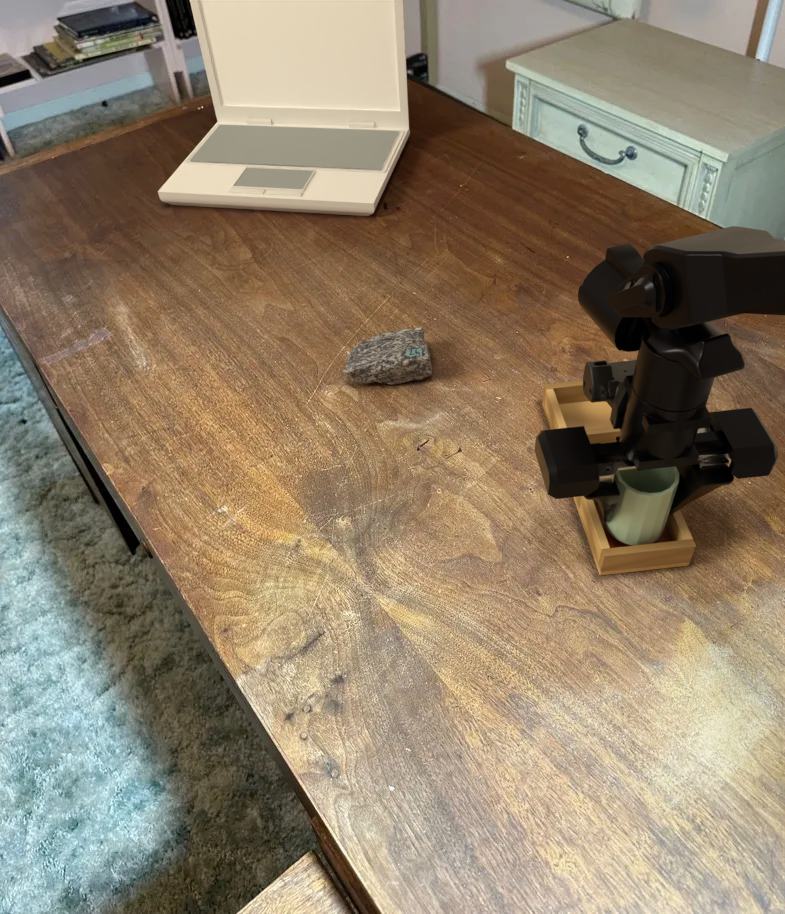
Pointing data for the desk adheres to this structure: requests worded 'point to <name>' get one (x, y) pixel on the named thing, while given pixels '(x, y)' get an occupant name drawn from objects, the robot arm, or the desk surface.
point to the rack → (610, 555)
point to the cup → (642, 504)
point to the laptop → (298, 106)
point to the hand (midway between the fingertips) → (635, 514)
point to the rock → (390, 358)
